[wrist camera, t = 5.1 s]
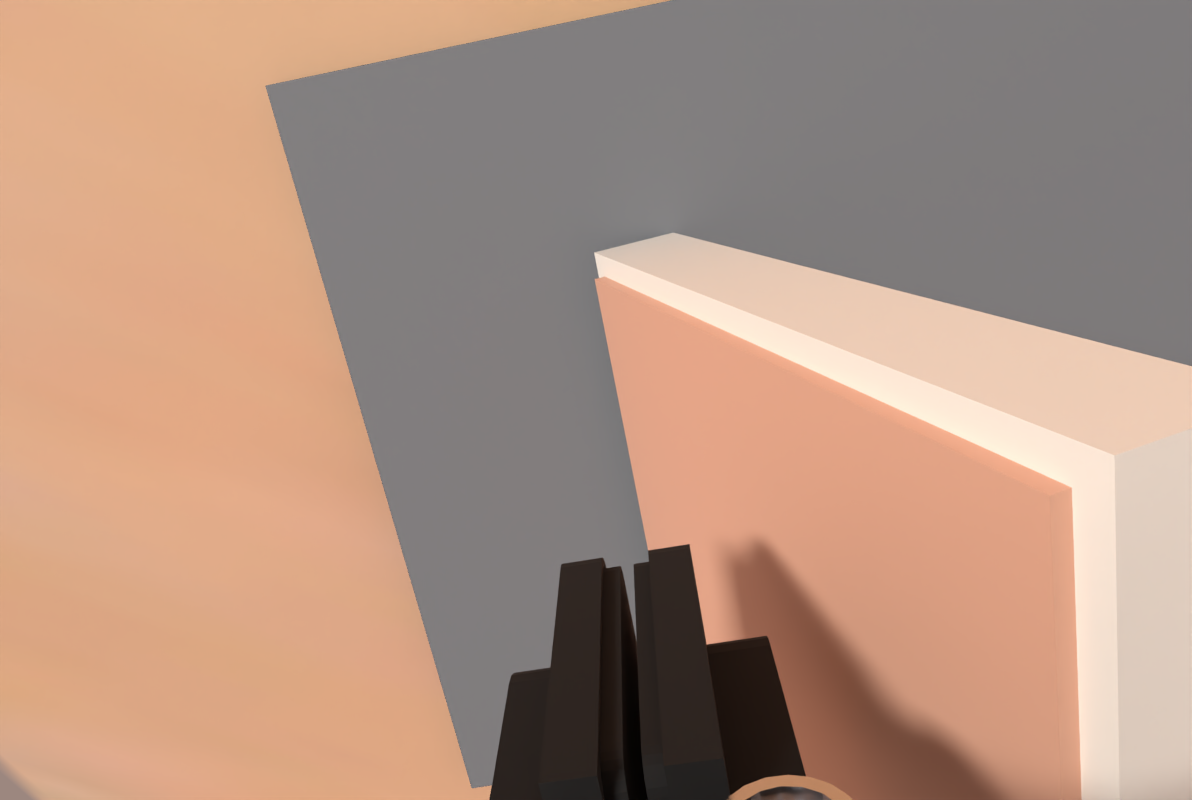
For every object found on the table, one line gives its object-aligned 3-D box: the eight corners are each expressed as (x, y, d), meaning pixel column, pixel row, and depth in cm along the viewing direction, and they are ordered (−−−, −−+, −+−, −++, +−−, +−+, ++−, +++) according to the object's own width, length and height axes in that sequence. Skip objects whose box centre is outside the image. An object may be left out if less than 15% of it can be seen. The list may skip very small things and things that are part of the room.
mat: (1406, -153, 16) (1426, -159, 16) (1344, 647, 21) (1357, 657, 21) (272, 85, 17) (265, 86, 17) (474, 776, 23) (472, 788, 22)
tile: (672, 232, 18) (1292, 393, 7) (733, 596, 20) (1254, 1136, 9) (583, 254, 17) (1091, 464, 6) (657, 623, 20) (1108, 1220, 9)
